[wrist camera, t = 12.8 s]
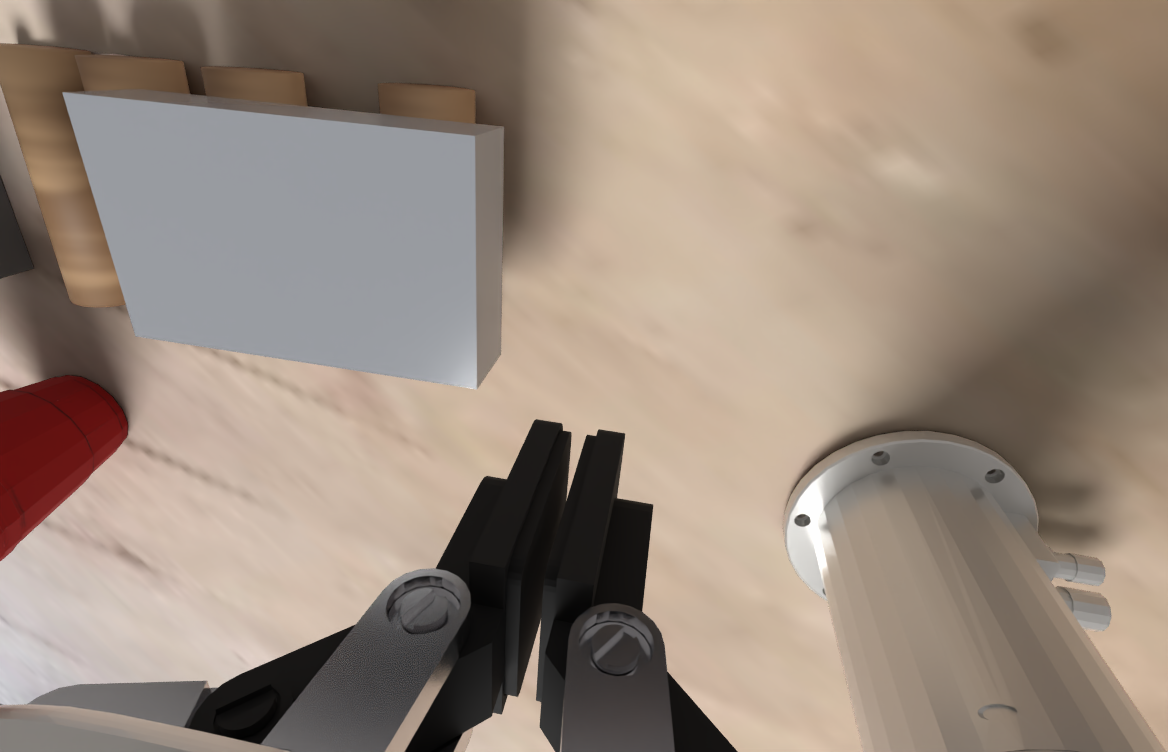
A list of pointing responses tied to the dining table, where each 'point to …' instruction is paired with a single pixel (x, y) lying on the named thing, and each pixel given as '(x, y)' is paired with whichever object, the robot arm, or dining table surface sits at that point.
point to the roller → (59, 167)
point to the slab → (301, 229)
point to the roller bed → (266, 86)
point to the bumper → (11, 241)
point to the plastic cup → (51, 448)
